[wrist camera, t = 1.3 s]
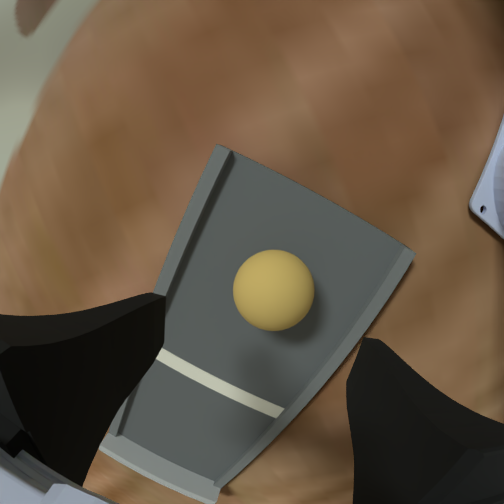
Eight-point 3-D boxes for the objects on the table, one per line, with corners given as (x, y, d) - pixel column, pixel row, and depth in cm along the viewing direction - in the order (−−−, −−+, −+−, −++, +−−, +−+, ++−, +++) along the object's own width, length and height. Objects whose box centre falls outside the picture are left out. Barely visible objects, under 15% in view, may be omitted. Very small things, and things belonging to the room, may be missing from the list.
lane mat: (409, 248, 16) (428, 263, 13) (218, 483, 24) (211, 505, 22) (222, 145, 16) (206, 141, 13) (112, 430, 25) (98, 449, 22)
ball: (326, 263, 16) (333, 291, 13) (290, 320, 18) (287, 359, 14) (261, 228, 17) (248, 246, 13) (229, 289, 18) (210, 321, 14)
